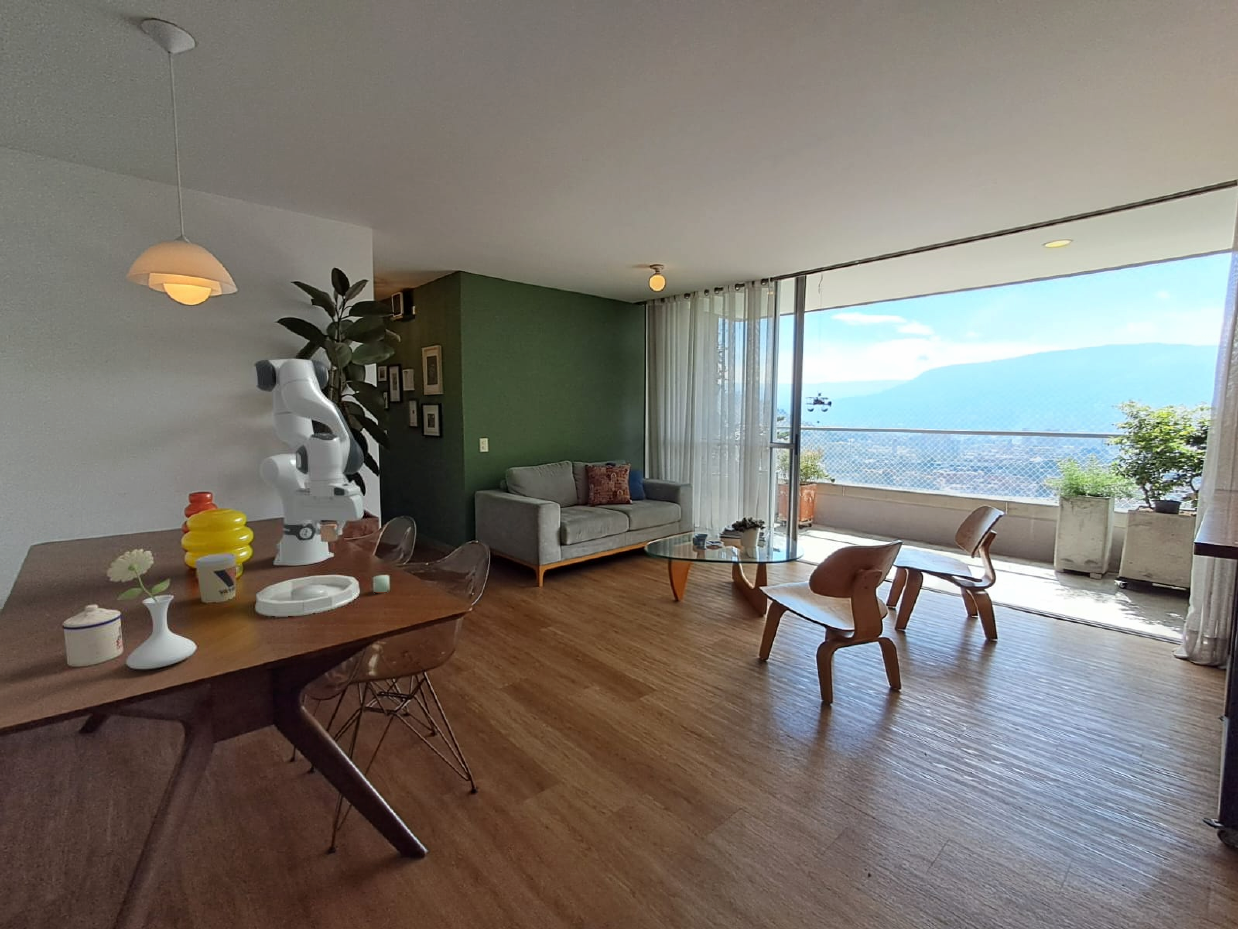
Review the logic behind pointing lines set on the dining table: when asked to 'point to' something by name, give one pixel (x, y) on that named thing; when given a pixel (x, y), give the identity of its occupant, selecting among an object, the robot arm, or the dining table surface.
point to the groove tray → (305, 607)
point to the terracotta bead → (328, 532)
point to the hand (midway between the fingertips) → (329, 534)
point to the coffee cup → (217, 577)
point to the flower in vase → (162, 642)
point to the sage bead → (381, 583)
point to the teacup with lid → (93, 636)
